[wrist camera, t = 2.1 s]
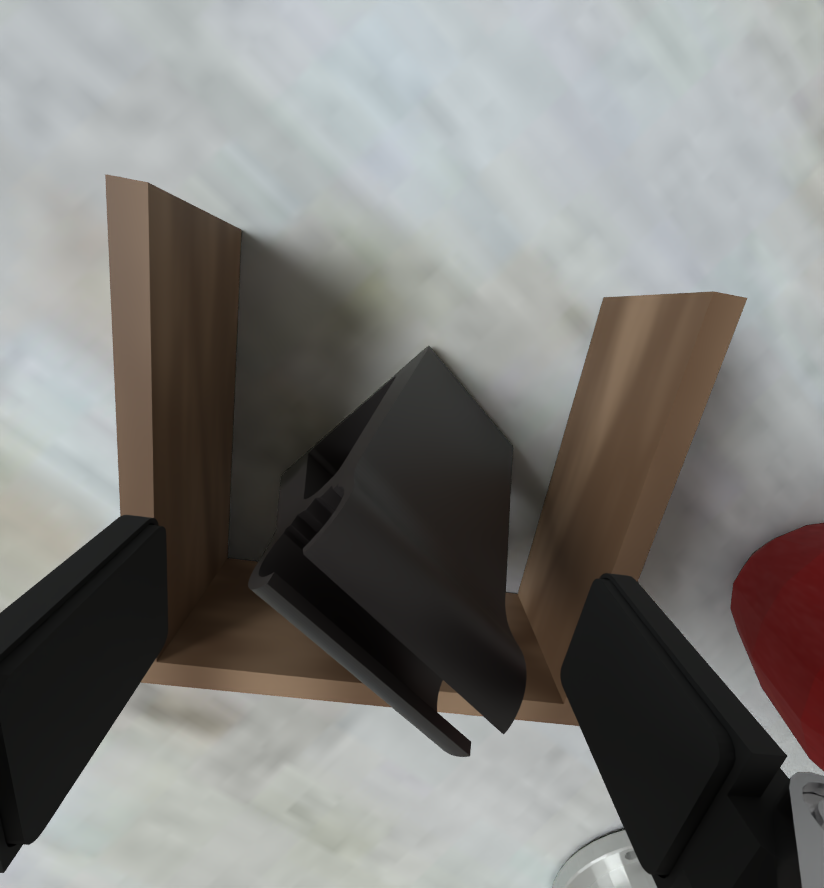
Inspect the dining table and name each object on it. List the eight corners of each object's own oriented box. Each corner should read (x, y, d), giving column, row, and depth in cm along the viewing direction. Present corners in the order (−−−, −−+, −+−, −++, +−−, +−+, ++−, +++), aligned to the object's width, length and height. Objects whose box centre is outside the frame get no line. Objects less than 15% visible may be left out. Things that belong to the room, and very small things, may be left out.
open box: (625, 301, 18) (747, 297, 12) (531, 611, 23) (581, 726, 16) (215, 224, 16) (105, 174, 10) (206, 572, 21) (128, 680, 15)
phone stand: (429, 344, 18) (483, 405, 7) (511, 444, 20) (668, 632, 8) (282, 472, 20) (123, 698, 8) (368, 555, 21) (334, 842, 10)
